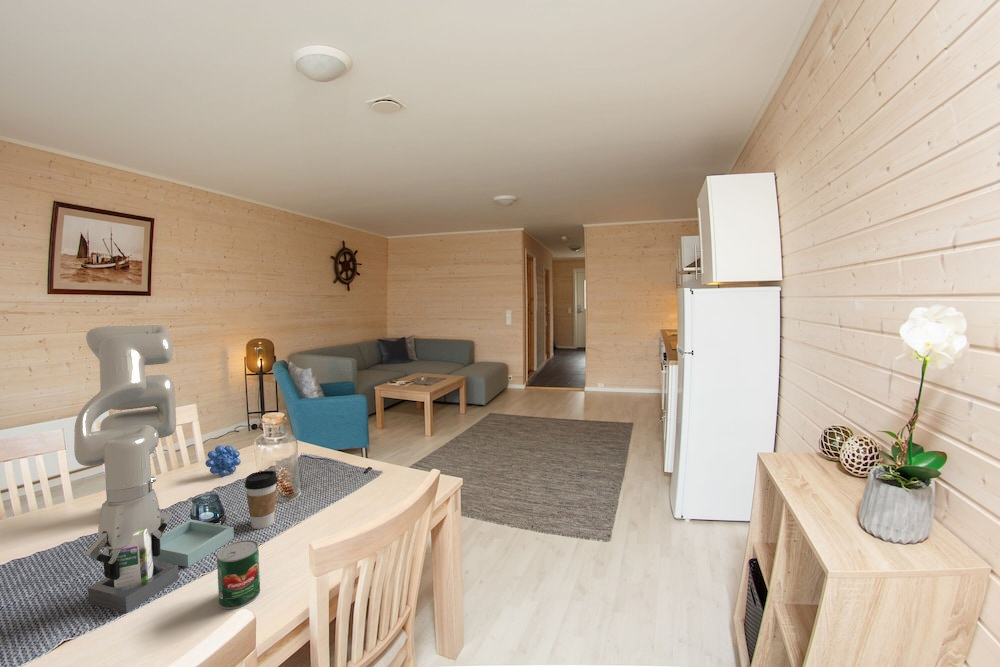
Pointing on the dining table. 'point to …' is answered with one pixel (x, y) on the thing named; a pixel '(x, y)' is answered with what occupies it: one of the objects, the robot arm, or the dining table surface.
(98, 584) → the collar
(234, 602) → the canned tomato
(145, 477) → the robot arm
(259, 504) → the coffee cup
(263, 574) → the dining table surface
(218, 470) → the grapes
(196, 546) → the tray
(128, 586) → the syrup box
